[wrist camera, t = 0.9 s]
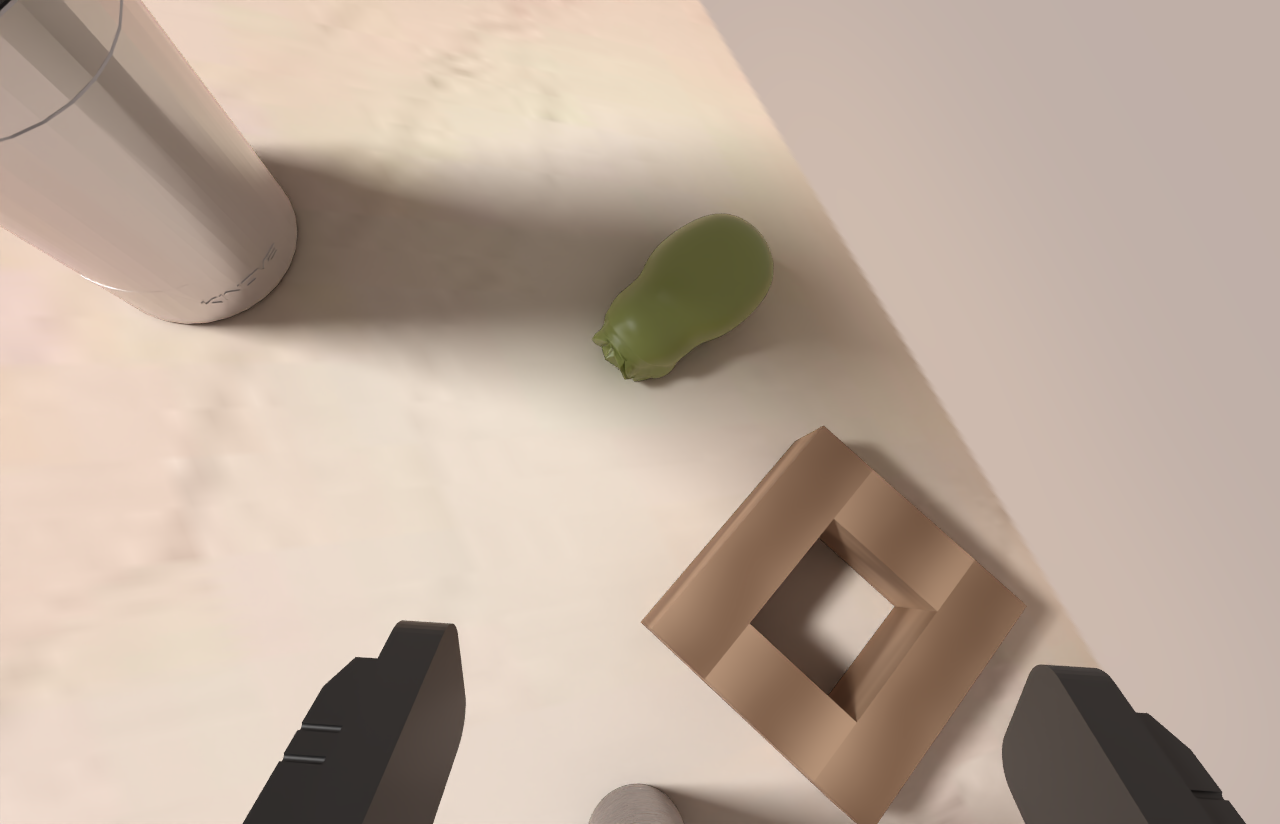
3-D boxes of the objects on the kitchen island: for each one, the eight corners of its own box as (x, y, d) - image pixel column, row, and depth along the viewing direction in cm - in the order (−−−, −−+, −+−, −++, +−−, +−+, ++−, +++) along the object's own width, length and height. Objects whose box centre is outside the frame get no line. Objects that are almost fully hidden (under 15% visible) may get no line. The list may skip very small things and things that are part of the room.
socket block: (640, 622, 32) (650, 629, 28) (795, 441, 35) (823, 425, 31) (832, 801, 31) (869, 834, 28) (974, 601, 34) (1027, 605, 30)
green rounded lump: (806, 260, 31) (640, 398, 31) (784, 293, 37) (642, 412, 36) (727, 172, 32) (563, 307, 31) (717, 217, 37) (576, 333, 37)
